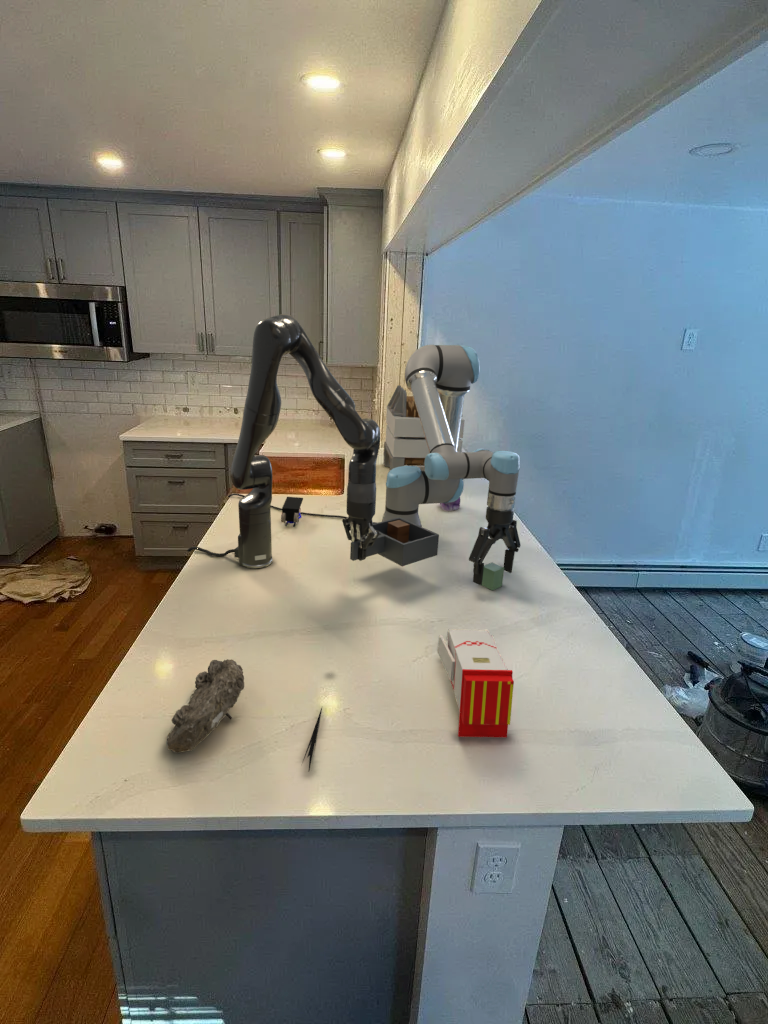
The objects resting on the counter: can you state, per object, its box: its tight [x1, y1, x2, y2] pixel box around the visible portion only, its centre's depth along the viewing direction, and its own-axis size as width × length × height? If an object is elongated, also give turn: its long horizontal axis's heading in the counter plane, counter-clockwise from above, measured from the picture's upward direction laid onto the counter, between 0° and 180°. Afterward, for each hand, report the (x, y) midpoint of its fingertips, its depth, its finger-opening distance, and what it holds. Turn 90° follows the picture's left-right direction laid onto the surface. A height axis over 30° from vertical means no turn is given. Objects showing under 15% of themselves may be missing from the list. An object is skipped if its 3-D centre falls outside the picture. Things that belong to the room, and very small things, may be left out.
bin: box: [349, 517, 440, 567], centre depth 158 cm, size 17×24×6 cm
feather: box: [301, 673, 332, 771], centre depth 108 cm, size 2×28×2 cm
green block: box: [481, 561, 505, 591], centre depth 164 cm, size 4×4×6 cm
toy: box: [437, 628, 515, 738], centre depth 117 cm, size 12×13×30 cm
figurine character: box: [280, 496, 304, 528], centre depth 205 cm, size 7×8×15 cm
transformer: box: [383, 384, 465, 471], centre depth 268 cm, size 34×33×41 cm
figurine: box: [439, 496, 461, 512], centre depth 226 cm, size 9×10×15 cm
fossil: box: [166, 658, 245, 754], centre depth 106 cm, size 22×10×15 cm
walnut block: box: [387, 520, 410, 543], centre depth 165 cm, size 4×4×6 cm
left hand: (359, 558), depth 152 cm, fingers closed on bin, 1 cm apart
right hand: (492, 577), depth 164 cm, fingers open, 13 cm apart
